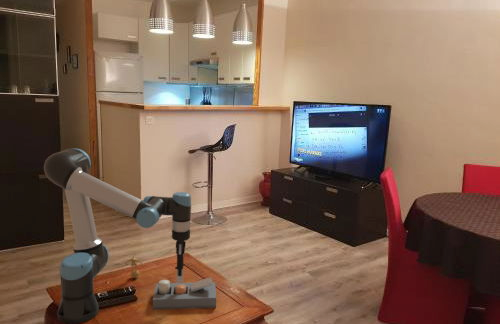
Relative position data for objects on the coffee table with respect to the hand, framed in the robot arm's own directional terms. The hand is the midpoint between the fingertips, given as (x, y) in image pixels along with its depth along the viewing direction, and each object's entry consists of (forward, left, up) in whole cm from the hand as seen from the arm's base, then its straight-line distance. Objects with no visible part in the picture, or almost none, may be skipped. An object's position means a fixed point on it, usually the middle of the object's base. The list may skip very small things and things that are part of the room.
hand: (179, 281), depth 170 cm
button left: (-6, 0, -5) cm, 8 cm away
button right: (+1, 0, -7) cm, 7 cm away
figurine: (-22, +21, -9) cm, 32 cm away
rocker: (+10, 0, -2) cm, 10 cm away
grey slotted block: (+3, 0, -9) cm, 9 cm away
